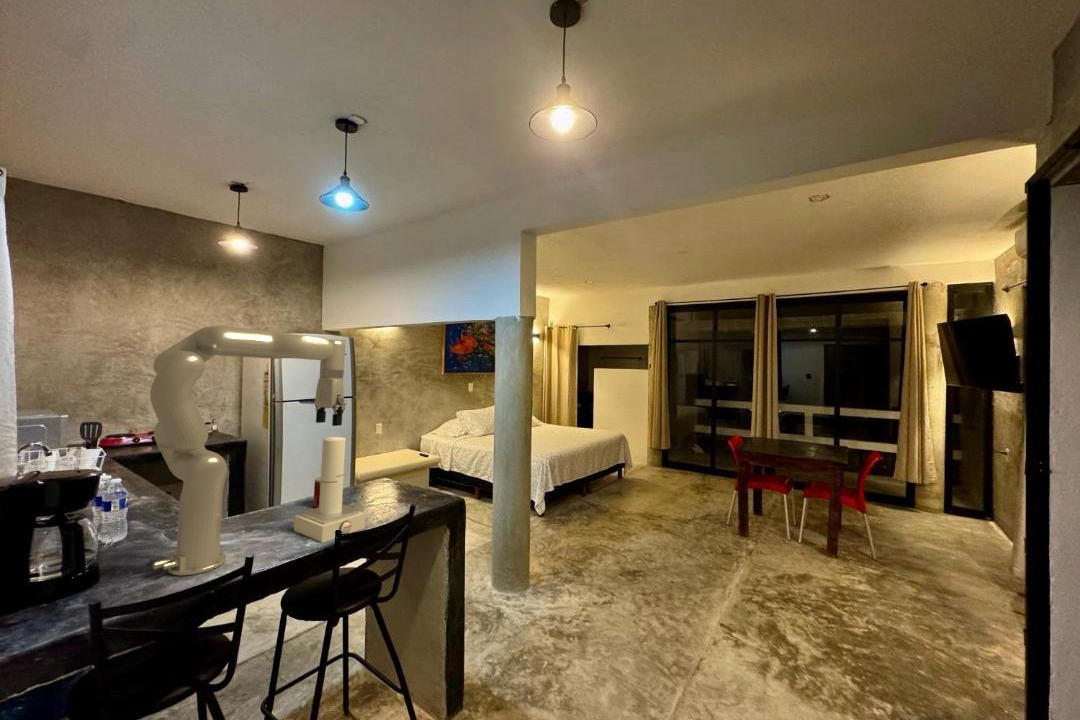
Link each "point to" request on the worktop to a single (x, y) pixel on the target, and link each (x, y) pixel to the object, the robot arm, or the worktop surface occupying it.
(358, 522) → the scale base
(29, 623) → the worktop surface
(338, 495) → the cylindrical container
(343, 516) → the scale pan
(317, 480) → the canned food
